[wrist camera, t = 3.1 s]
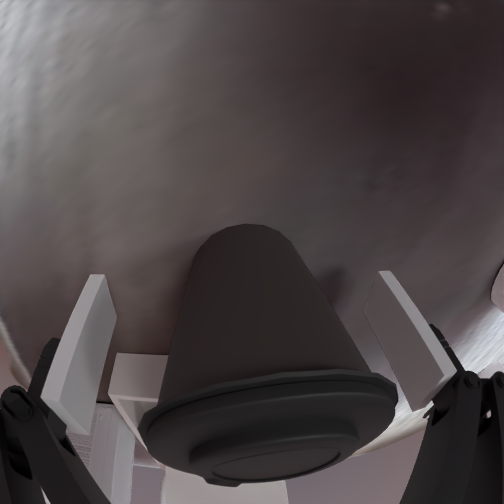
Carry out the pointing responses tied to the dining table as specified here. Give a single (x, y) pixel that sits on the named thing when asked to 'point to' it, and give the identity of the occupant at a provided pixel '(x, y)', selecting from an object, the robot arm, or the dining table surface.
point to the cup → (498, 290)
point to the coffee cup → (261, 370)
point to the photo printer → (107, 453)
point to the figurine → (491, 373)
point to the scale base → (175, 482)
